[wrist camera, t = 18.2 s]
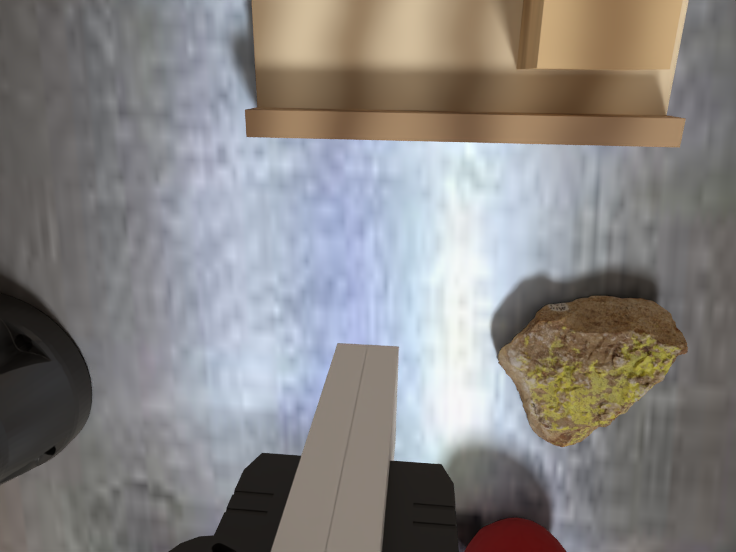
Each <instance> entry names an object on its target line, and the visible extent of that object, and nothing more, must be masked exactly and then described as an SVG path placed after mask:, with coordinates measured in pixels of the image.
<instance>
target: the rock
mask: <svg viewBox="0 0 736 552" xmlns="http://www.w3.org/2000/svg"><path fill="white" fill-rule="evenodd" d="M687 349H688V347H687V342H686V340H685V338H684V336H683V334H682V332H681V331H680V330H679V329H678V328H677V327H676V324H675V321H674V320H673V319H672V316H671V314H670V313H669V312H668V311H667V310H665V309H664V308H662V307H661V306H659V305H658V304H657V303H655V302H654V301H650V300H645V299H642V298H638V299H635V298H624V299H621V298H617V297H611V296H590V297H589V298H580V299H576V300H574V301H573V302H568V303H557V304H548V305H546V306H544V307H543V308H542V309H540V310H539V311H538V312H537V313H536V315H535V318H534V319H533V320H532V321H530V322H529V324H528V325H527V327H526V328H524V329H523V330H522V331H521V332H520V333H519V334H517V335H516V336H515V337H514V338H513V340H512V341H511V342H510V343H508V344H507V345H505V346H504V347H502V348H501V350H500V351H499V355H498V358H499V359H498V360H499V362H498V363H499V364H500V365H501V366H502V367H503V369H504V370H505V371H506V374H507V375H508V376H510V377H511V379H512V380H513V382H514V383H515V385H516V387H517V390H518V392H519V394H520V396H521V400H522V402H523V408H524V410H525V412H526V414H527V418H528V421H529V425H530V426H531V428H532V429H533V431H534V432H535V433H536V434H537V435H538V436H539V437H541V438H543V439H544V440H546V441H547V442H549V443H552V444H553V445H556V446H560V447H565V446H568V445H574V444H576V443H577V442H581V441H582V440H584V439H585V438H586V437H587V436H589V435H590V434H591V433H592V432H593V430H595V429H597V428H598V427H606V426H608V425H610V424H611V422H612V420H615V418H617V417H618V416H619V415H620V414H624V413H626V412H627V411H628V409H629V408H630V407H631V406H632V405H633V404H634V402H636V401H639V399H640V398H641V397H642V396H644V395H645V393H646V392H648V391H649V390H650V389H651V388H652V387H653V385H655V384H657V383H659V382H660V381H662V380H664V378H665V375H666V374H667V372H668V370H669V368H670V366H671V365H672V363H673V362H674V361H675V359H676V357H677V356H678V355H681V354H685V353H687Z"/></svg>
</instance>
